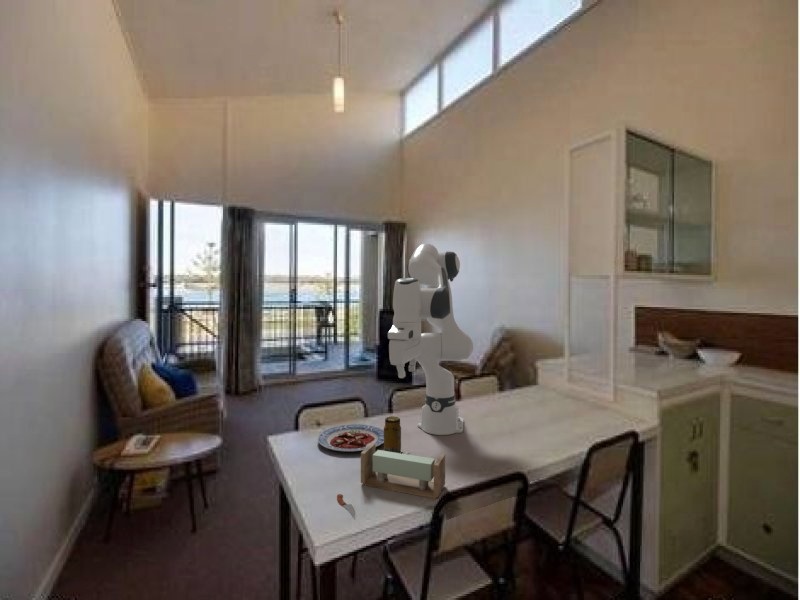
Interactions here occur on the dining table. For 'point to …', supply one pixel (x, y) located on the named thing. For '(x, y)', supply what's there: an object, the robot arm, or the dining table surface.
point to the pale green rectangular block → (403, 465)
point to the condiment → (392, 435)
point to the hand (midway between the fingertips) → (406, 374)
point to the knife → (347, 506)
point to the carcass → (401, 482)
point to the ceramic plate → (351, 437)
